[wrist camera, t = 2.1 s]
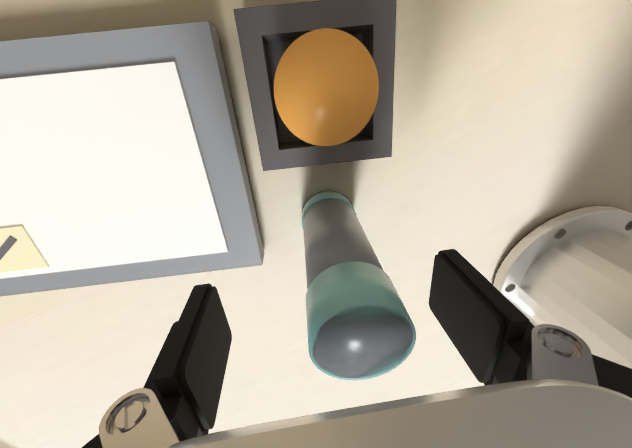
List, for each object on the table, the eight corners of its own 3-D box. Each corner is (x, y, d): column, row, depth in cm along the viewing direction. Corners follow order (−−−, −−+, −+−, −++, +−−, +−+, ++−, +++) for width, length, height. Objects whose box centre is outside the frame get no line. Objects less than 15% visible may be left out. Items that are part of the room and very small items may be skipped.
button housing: (377, 11, 14) (396, -7, 12) (376, 146, 17) (391, 156, 15) (245, 24, 14) (233, 9, 11) (268, 158, 17) (263, 170, 15)
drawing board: (216, 27, 14) (206, 19, 12) (264, 253, 20) (261, 267, 19) (-182, 66, 14) (-247, 63, 12) (-7, 285, 20) (-35, 303, 18)
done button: (364, 34, 12) (379, 22, 10) (365, 133, 14) (378, 140, 12) (270, 44, 12) (264, 34, 10) (284, 142, 14) (282, 151, 12)
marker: (353, 187, 19) (420, 297, 9) (354, 235, 20) (412, 372, 10) (298, 193, 18) (302, 311, 9) (304, 241, 20) (314, 385, 10)
